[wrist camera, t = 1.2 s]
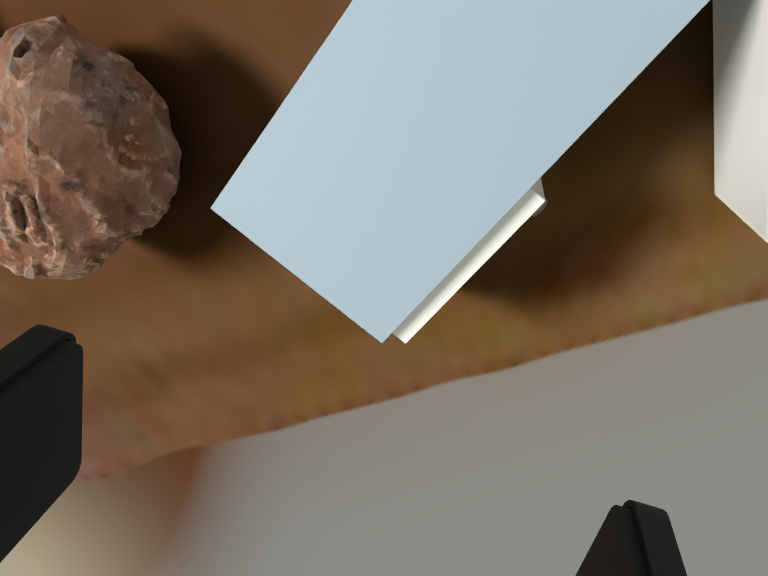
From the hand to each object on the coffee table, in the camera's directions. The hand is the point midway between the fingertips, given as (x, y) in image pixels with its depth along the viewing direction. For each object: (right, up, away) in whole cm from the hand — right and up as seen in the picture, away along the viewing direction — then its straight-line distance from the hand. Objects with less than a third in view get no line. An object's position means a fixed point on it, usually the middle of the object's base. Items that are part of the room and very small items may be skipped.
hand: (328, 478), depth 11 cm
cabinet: (+5, +15, +22) cm, 27 cm away
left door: (+18, +13, +20) cm, 30 cm away
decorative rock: (-15, +12, +27) cm, 33 cm away
